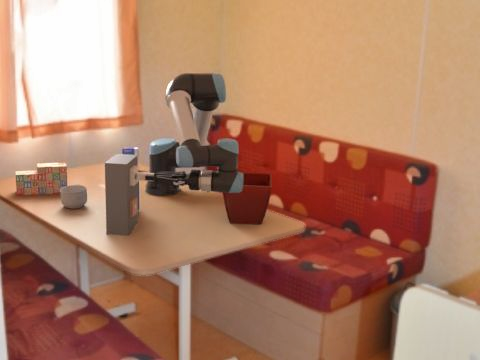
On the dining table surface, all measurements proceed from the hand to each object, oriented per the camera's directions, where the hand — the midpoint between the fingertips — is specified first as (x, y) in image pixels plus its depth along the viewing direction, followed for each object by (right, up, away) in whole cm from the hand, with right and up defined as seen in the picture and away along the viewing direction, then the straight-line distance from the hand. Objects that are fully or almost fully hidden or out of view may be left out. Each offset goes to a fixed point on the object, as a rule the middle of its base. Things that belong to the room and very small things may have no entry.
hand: (137, 176), depth 235 cm
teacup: (-30, -12, +30) cm, 45 cm away
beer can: (-7, -15, +25) cm, 30 cm away
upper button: (-4, -2, +1) cm, 5 cm away
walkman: (-17, +3, +84) cm, 86 cm away
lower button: (-5, -14, +5) cm, 16 cm away
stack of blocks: (-49, -7, +47) cm, 68 cm away
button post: (-7, -20, +7) cm, 22 cm away
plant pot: (+40, -17, +22) cm, 49 cm away
